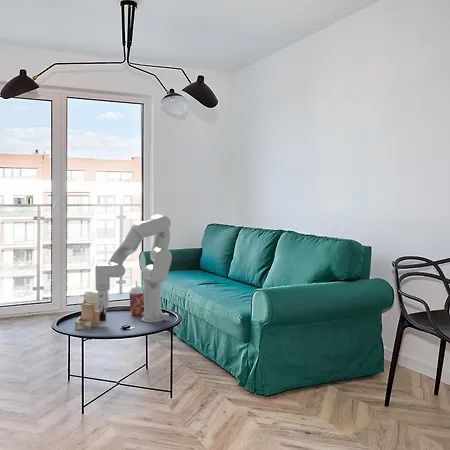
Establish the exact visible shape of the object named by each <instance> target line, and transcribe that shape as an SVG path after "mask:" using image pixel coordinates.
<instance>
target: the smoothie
mask: <svg viewBox="0 0 450 450" xmlns="http://www.w3.org/2000/svg"><path fill="white" fill-rule="evenodd" d="M128 293H129V306H130V307H129V308H130V314H131V316H134V317H138V316H141V315H142V313H143V311H144V289H143V288H142V287H141V286H139V285H138V281H137V280H136V281H135V285H134V286H132V287H131V288H130V290H129V292H128Z"/></svg>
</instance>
